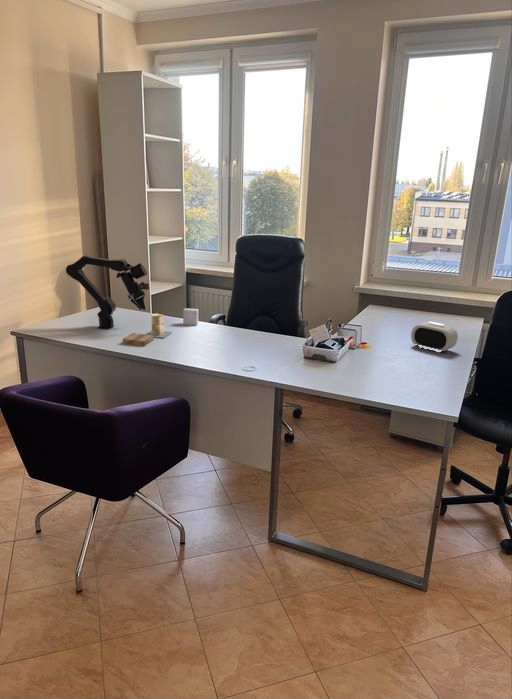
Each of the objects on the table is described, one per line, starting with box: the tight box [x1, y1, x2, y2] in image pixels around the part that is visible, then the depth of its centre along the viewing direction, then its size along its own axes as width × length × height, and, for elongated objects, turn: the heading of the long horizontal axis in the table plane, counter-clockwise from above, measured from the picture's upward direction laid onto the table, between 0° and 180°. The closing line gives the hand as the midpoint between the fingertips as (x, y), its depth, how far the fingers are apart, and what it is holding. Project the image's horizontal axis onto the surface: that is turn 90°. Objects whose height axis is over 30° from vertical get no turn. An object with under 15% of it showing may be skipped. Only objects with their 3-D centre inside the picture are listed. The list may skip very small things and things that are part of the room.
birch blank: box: [151, 313, 165, 335], centre depth 258 cm, size 4×4×10 cm
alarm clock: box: [410, 321, 458, 352], centre depth 256 cm, size 21×10×13 cm, turn 47°
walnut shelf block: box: [122, 332, 154, 347], centre depth 246 cm, size 11×11×2 cm
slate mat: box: [145, 329, 173, 340], centre depth 260 cm, size 11×11×1 cm
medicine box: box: [182, 307, 199, 327], centre depth 282 cm, size 8×4×9 cm, turn 84°
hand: (143, 309), depth 265 cm, fingers open, 9 cm apart
